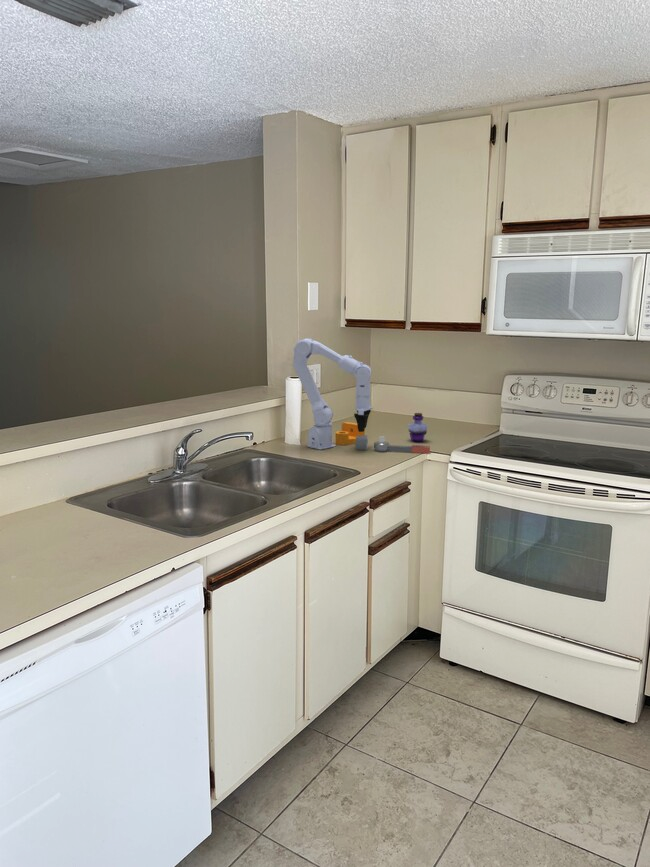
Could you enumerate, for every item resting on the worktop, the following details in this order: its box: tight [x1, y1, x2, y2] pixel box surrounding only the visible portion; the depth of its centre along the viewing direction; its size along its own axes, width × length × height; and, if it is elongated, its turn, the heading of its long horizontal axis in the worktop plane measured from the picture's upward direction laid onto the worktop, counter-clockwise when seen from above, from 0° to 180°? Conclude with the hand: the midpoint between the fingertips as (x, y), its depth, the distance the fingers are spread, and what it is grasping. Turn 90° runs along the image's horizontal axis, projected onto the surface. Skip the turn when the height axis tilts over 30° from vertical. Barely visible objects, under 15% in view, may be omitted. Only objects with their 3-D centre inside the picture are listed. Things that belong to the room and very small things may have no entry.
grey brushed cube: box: [355, 435, 369, 451], centre depth 266 cm, size 4×4×5 cm
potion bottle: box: [407, 412, 429, 444], centre depth 280 cm, size 9×9×12 cm
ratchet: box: [373, 435, 431, 455], centre depth 263 cm, size 22×6×6 cm, turn 81°
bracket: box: [334, 421, 366, 446], centre depth 277 cm, size 11×7×12 cm
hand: (362, 429), depth 265 cm, fingers open, 7 cm apart
